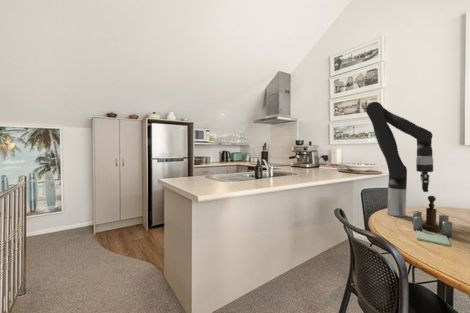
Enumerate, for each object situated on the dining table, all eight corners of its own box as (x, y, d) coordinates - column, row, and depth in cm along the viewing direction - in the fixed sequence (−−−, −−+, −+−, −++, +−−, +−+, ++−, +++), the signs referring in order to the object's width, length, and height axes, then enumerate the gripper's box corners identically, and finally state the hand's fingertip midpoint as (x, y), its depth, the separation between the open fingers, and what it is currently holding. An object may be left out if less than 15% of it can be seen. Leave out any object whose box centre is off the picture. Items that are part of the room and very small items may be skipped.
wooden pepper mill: (435, 228, 113) (436, 194, 112) (442, 232, 107) (443, 197, 106) (419, 226, 115) (420, 194, 114) (426, 231, 109) (427, 196, 108)
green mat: (416, 239, 99) (417, 237, 99) (416, 231, 108) (416, 230, 108) (450, 246, 92) (450, 244, 92) (446, 237, 101) (446, 236, 101)
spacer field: (413, 231, 109) (413, 217, 109) (412, 222, 121) (413, 210, 121) (452, 238, 100) (453, 223, 100) (447, 228, 112) (448, 215, 112)
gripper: (415, 162, 134) (416, 188, 135) (416, 164, 123) (417, 192, 124) (431, 163, 130) (432, 189, 130) (434, 164, 119) (434, 193, 119)
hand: (425, 190), depth 127 cm, fingers open, 8 cm apart
